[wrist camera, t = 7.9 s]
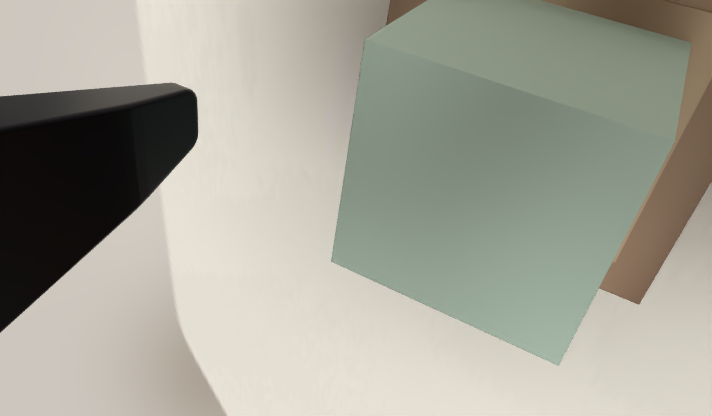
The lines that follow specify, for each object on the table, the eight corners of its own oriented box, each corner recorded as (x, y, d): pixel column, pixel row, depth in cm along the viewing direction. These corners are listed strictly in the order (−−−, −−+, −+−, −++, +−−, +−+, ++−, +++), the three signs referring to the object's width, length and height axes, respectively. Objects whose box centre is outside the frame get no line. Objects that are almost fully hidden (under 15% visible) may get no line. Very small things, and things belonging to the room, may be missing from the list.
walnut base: (814, -43, 16) (829, -18, 13) (648, 253, 22) (638, 306, 19) (449, -127, 19) (409, -118, 16) (392, 153, 24) (356, 189, 22)
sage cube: (691, 42, 15) (675, 140, 11) (600, 232, 19) (558, 365, 14) (462, -22, 17) (364, 39, 12) (419, 162, 20) (331, 261, 16)
